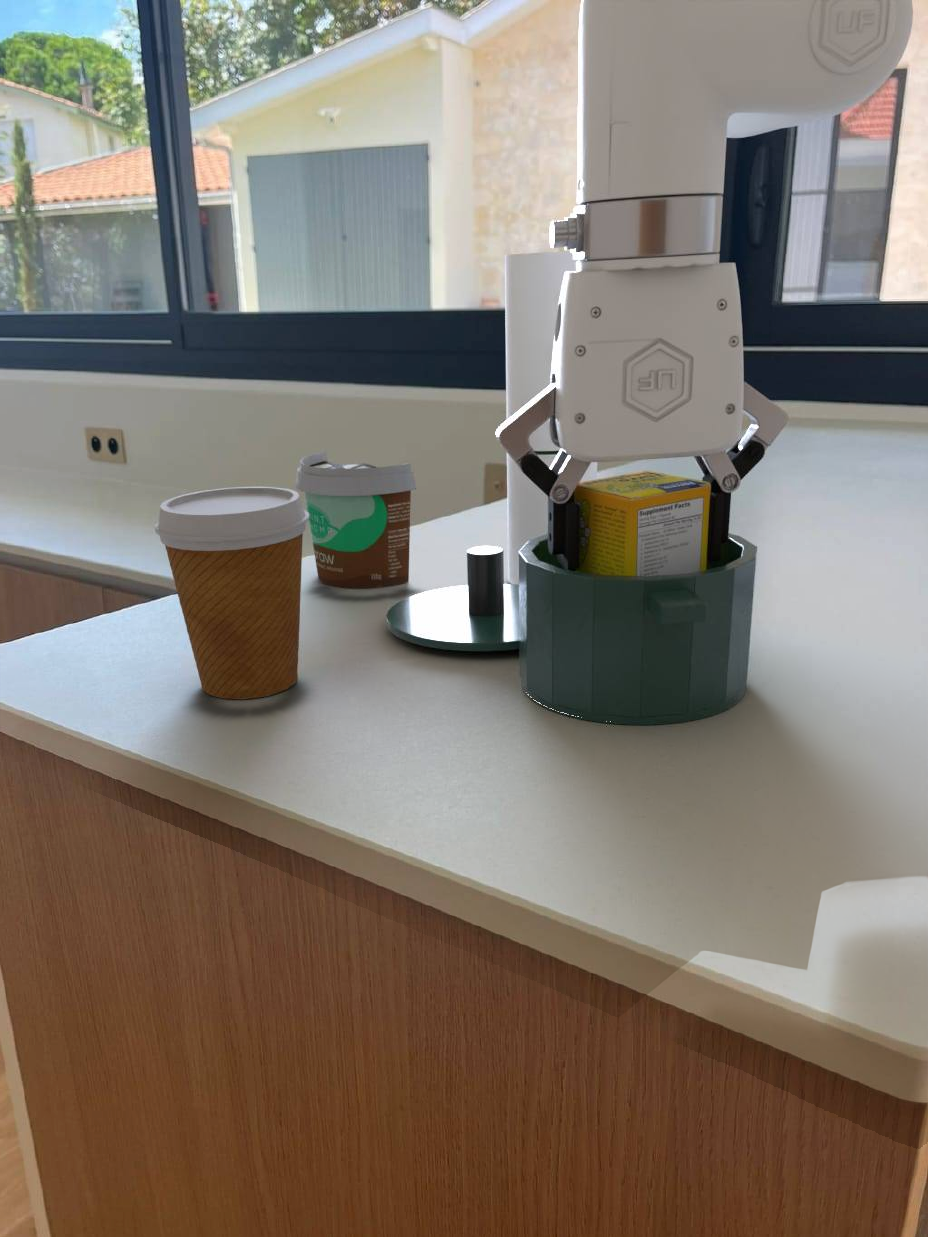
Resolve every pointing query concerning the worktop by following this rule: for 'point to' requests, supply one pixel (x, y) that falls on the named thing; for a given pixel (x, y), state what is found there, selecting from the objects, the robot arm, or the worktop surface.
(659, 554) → the supplement box
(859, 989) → the worktop surface
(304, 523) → the disposable coffee cup
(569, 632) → the pot
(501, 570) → the lid
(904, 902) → the worktop surface
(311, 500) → the food container
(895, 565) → the worktop surface
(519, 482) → the cylindrical container
